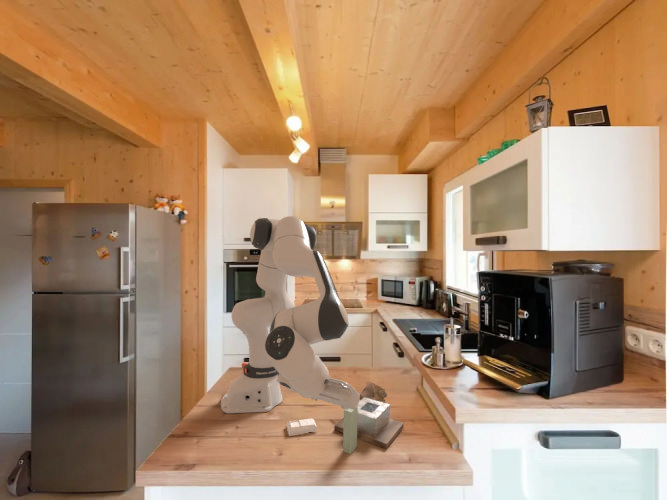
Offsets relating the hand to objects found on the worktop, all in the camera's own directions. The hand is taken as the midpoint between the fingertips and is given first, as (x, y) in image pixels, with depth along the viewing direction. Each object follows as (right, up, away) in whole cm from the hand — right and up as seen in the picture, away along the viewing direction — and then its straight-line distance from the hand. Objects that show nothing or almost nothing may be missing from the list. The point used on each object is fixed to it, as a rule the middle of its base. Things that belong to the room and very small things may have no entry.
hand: (330, 401), depth 88 cm
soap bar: (-10, -18, +20) cm, 29 cm away
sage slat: (+5, -18, +10) cm, 22 cm away
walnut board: (+12, -18, +21) cm, 30 cm away
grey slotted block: (+12, -17, +21) cm, 30 cm away
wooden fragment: (+16, -19, +46) cm, 52 cm away
